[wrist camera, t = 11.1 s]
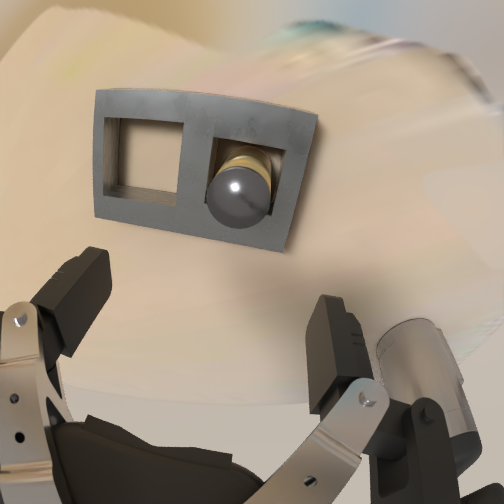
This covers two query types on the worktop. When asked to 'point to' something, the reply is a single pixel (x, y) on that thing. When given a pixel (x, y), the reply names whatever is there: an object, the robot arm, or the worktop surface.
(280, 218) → the grey fitting block
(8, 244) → the worktop surface
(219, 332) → the worktop surface
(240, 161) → the gold and grey cylinder
